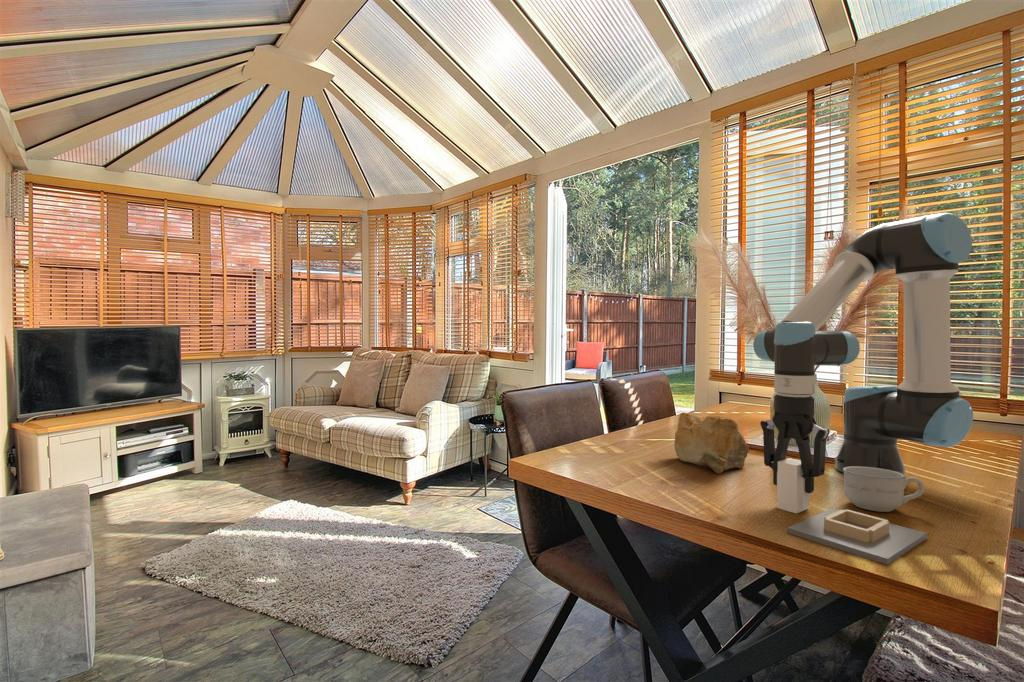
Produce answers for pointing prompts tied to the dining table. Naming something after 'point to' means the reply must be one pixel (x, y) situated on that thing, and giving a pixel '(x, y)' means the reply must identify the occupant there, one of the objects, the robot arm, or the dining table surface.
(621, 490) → the dining table surface
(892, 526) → the socket plate
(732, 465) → the rough brown rock
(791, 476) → the plug
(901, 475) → the teacup
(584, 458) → the dining table surface
